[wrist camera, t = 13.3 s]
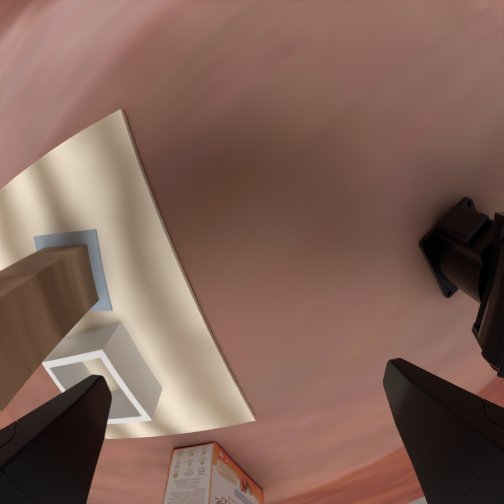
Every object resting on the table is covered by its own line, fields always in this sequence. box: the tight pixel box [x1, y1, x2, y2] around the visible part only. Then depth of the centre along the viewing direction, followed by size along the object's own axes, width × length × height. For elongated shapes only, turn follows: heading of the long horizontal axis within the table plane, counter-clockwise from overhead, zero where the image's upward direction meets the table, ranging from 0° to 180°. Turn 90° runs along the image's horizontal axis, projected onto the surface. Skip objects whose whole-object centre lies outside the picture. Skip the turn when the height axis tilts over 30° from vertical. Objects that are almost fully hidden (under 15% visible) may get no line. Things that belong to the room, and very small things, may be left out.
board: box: [0, 109, 255, 439], centre depth 22 cm, size 18×28×1 cm, turn 19°
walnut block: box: [0, 244, 99, 413], centre depth 14 cm, size 4×4×13 cm
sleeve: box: [42, 322, 163, 424], centre depth 21 cm, size 7×7×4 cm
